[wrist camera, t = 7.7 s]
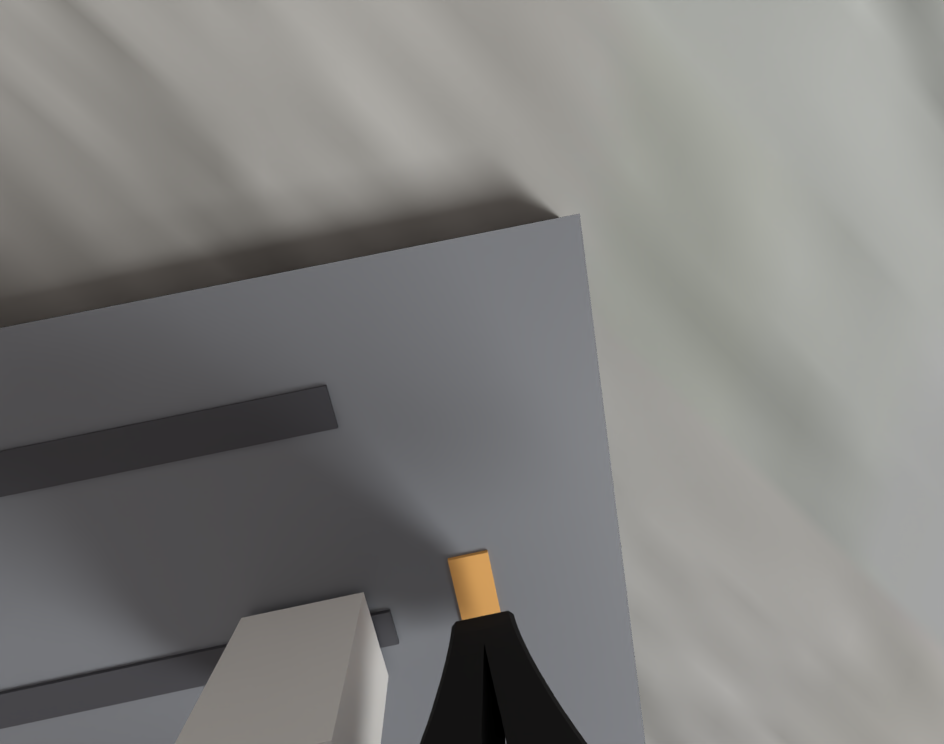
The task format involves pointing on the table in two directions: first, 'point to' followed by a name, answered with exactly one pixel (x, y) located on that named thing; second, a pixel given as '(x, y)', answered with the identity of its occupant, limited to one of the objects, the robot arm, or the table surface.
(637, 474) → the table surface
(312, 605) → the handle
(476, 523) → the breaker panel
